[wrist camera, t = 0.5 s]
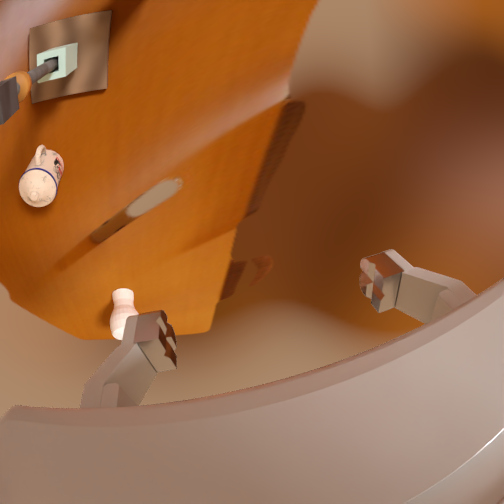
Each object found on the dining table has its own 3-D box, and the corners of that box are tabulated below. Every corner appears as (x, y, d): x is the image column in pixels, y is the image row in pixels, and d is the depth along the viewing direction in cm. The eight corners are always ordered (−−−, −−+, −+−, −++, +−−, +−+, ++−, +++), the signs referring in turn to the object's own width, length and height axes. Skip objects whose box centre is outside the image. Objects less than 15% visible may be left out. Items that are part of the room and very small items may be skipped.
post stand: (34, 101, 34) (-45, 198, 15) (32, 28, 23) (-74, 65, 3) (107, 86, 40) (70, 169, 21) (112, 10, 28) (63, -1, 9)
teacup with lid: (65, 183, 51) (55, 216, 44) (31, 183, 46) (17, 216, 39) (66, 135, 43) (52, 162, 36) (29, 136, 39) (9, 164, 32)
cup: (109, 303, 88) (112, 342, 79) (106, 286, 80) (108, 327, 71) (138, 302, 92) (143, 339, 83) (137, 284, 85) (142, 324, 76)
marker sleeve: (52, 73, 30) (37, 83, 25) (52, 48, 27) (36, 54, 22) (77, 67, 32) (65, 76, 27) (77, 42, 28) (65, 47, 24)
